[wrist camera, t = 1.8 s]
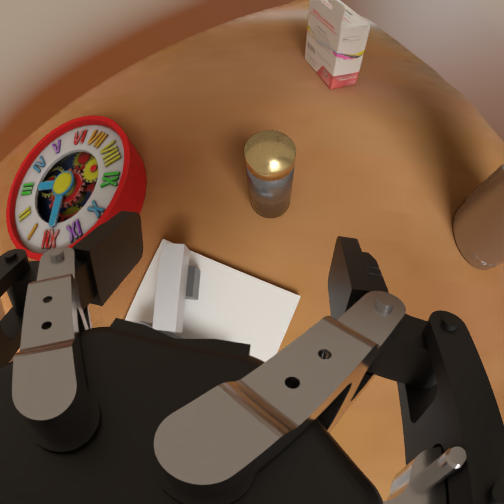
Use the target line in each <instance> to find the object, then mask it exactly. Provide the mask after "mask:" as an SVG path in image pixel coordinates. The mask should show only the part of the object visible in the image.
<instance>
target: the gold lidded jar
mask: <svg viewBox="0 0 504 504" xmlns="http://www.w3.org/2000/svg"><path fill="white" fill-rule="evenodd" d="M244 155H245V162H246V169H247V176H248V183H249V191H250V198H251V204H252V207H253V209H254V211H255V212H256V213H257V214H259V215H260V216H262V217H265V218H276V217H279V216H281V215H282V214H284V213H285V212H286V211H287V209H288V207H289V204H290V197H291V189H292V181H293V173H294V165H295V157H296V147H295V144H294V142H293V141H292V140H291V138H290V137H288V136H287V135H286V134H284V133H282V132H279V131H274V130H266V131H261V132H258V133H256V134H254V135H253V136H251V137H250V138H249V139H248V141H247V142H246V144H245V148H244Z"/></svg>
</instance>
